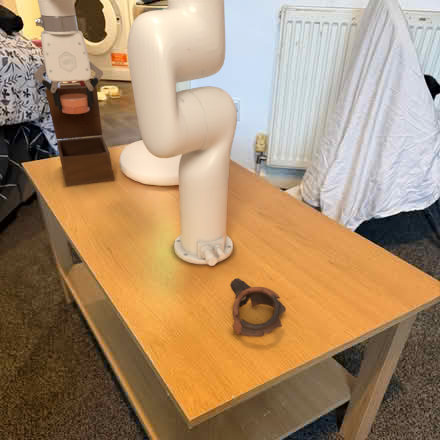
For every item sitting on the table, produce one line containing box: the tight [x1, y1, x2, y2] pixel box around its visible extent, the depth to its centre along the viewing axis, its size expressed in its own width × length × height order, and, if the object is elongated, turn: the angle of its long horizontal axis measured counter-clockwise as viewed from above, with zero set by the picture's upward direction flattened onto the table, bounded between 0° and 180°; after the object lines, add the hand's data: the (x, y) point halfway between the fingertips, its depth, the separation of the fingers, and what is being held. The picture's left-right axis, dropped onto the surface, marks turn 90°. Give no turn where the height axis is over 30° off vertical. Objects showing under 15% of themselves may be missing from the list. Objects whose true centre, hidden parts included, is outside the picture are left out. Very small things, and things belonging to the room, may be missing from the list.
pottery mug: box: [230, 277, 286, 338], centre depth 69 cm, size 12×10×8 cm
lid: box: [44, 81, 103, 140], centre depth 111 cm, size 14×13×5 cm
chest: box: [56, 135, 115, 187], centre depth 114 cm, size 14×13×8 cm
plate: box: [118, 139, 182, 187], centre depth 118 cm, size 28×6×27 cm
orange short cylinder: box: [59, 93, 90, 114], centre depth 104 cm, size 7×7×3 cm
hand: (75, 107), depth 104 cm, fingers closed on orange short cylinder, 6 cm apart
